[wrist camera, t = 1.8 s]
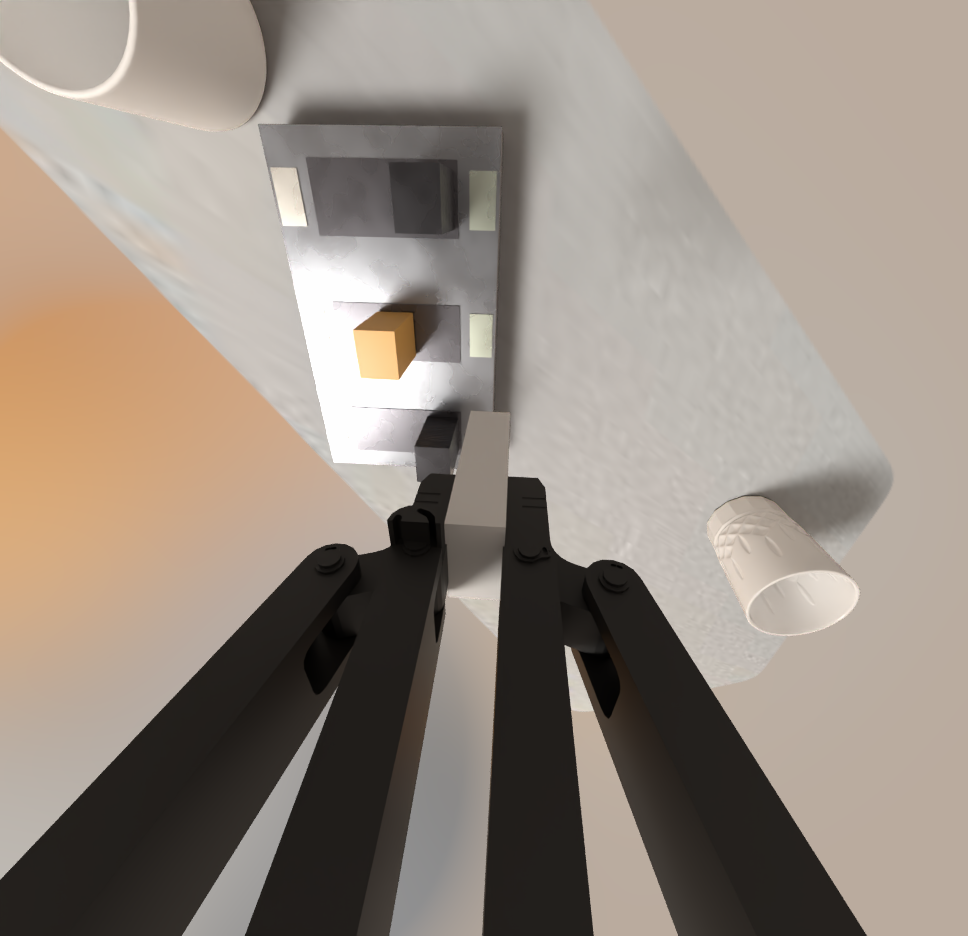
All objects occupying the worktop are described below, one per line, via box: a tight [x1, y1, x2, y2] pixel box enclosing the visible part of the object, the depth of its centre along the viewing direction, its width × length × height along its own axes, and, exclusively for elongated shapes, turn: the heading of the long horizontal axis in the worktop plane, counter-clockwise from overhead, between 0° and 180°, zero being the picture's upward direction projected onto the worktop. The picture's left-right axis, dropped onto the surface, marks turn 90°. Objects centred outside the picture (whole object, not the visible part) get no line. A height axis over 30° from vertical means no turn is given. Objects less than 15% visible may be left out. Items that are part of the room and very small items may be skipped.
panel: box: [258, 124, 503, 482], centre depth 28 cm, size 23×14×8 cm, turn 179°
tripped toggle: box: [353, 312, 416, 380], centre depth 27 cm, size 3×2×5 cm
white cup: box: [707, 496, 860, 636], centre depth 36 cm, size 8×8×10 cm
